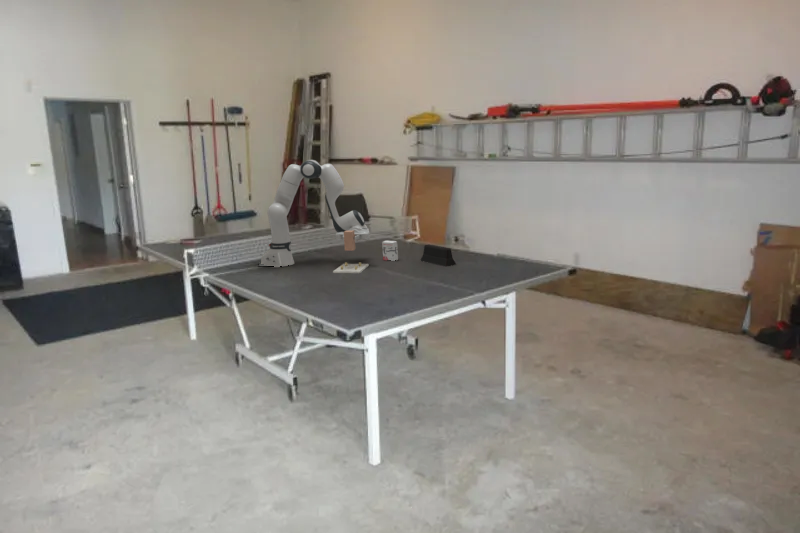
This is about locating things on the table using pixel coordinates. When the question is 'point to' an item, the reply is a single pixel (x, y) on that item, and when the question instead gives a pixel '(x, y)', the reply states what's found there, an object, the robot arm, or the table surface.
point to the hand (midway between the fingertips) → (349, 238)
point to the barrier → (437, 255)
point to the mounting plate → (351, 268)
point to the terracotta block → (349, 240)
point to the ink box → (390, 250)
